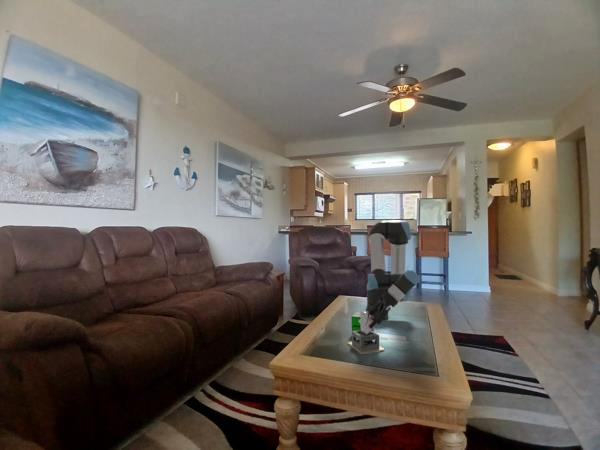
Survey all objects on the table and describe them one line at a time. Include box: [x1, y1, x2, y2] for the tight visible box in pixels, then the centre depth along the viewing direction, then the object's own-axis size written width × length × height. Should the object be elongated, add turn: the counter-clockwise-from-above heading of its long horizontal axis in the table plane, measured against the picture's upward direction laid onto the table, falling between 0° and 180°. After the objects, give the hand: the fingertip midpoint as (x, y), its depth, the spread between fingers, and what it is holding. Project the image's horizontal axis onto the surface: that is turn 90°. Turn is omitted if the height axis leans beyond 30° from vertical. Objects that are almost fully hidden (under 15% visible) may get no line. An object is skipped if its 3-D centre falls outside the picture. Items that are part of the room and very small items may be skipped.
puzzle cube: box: [351, 311, 375, 332], centre depth 166 cm, size 10×10×10 cm
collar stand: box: [347, 330, 385, 355], centre depth 145 cm, size 14×12×7 cm
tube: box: [360, 310, 370, 344], centre depth 145 cm, size 4×4×16 cm
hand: (362, 327), depth 145 cm, fingers open, 13 cm apart
